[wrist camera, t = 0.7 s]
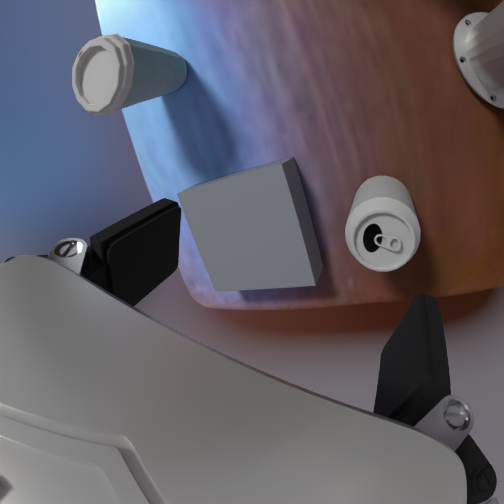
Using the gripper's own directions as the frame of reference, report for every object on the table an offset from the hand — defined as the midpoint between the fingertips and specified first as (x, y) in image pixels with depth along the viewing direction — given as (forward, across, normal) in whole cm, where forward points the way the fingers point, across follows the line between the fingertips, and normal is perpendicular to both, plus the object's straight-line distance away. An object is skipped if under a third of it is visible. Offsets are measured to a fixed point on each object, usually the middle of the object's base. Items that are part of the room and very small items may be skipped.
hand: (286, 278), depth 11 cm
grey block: (+28, +10, +13) cm, 33 cm away
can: (+28, -6, +4) cm, 29 cm away
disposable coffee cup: (+29, +28, -7) cm, 41 cm away
